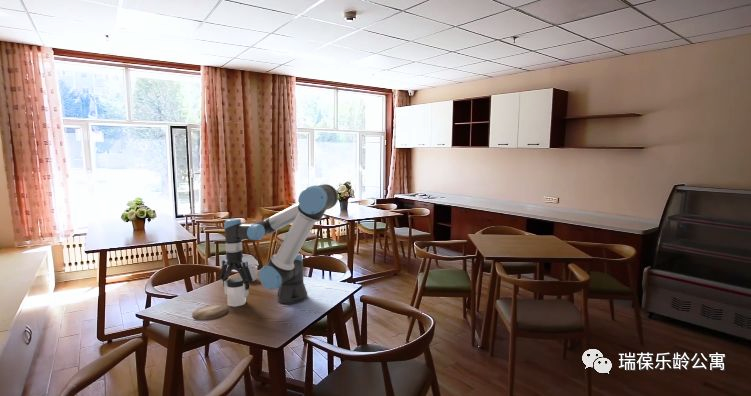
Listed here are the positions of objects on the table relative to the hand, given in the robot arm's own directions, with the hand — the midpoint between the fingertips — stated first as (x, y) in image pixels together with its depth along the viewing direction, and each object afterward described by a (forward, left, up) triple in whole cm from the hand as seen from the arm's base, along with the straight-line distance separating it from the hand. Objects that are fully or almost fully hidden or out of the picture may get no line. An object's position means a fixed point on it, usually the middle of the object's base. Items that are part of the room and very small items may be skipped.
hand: (236, 294), depth 190 cm
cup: (+20, -32, -5) cm, 38 cm away
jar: (0, 0, -5) cm, 5 cm away
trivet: (+3, +14, -5) cm, 15 cm away
